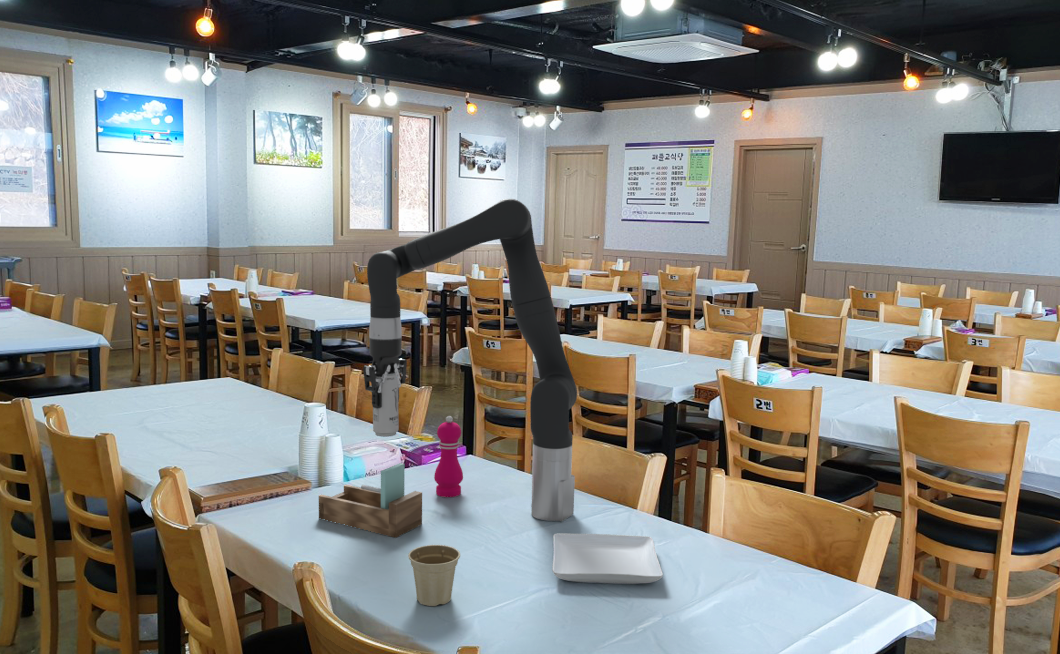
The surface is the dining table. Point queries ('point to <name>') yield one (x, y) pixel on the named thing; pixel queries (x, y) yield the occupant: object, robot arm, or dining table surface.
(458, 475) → the pepper mill
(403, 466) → the pusher
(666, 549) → the dining table surface
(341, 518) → the wooden box
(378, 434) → the energy drink can
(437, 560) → the flower pot
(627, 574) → the salad plate
